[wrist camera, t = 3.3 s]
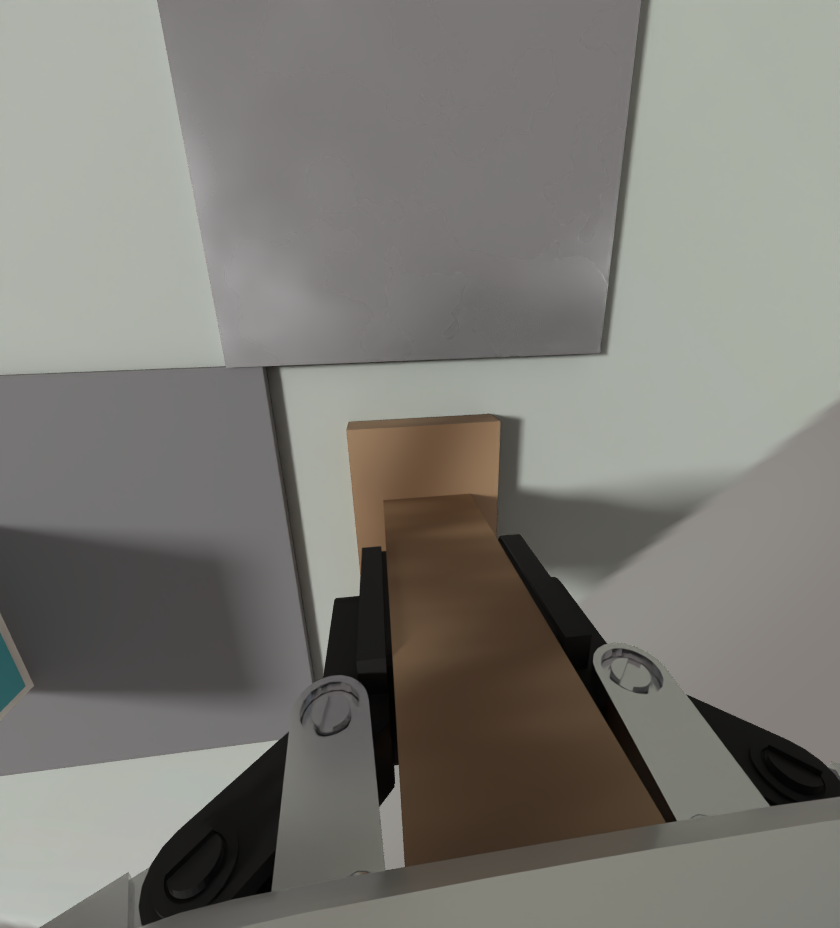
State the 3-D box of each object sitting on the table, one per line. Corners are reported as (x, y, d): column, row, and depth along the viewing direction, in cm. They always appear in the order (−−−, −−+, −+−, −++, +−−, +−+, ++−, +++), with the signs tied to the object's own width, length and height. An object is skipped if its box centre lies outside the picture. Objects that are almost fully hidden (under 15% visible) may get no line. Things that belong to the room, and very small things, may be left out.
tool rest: (633, -41, 10) (648, -62, 10) (590, 352, 14) (600, 353, 13) (153, -71, 9) (139, -98, 9) (233, 365, 12) (226, 367, 12)
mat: (265, 364, 12) (262, 365, 12) (321, 725, 18) (320, 734, 17) (-322, 387, 11) (-347, 389, 11) (-71, 776, 16) (-81, 786, 16)
